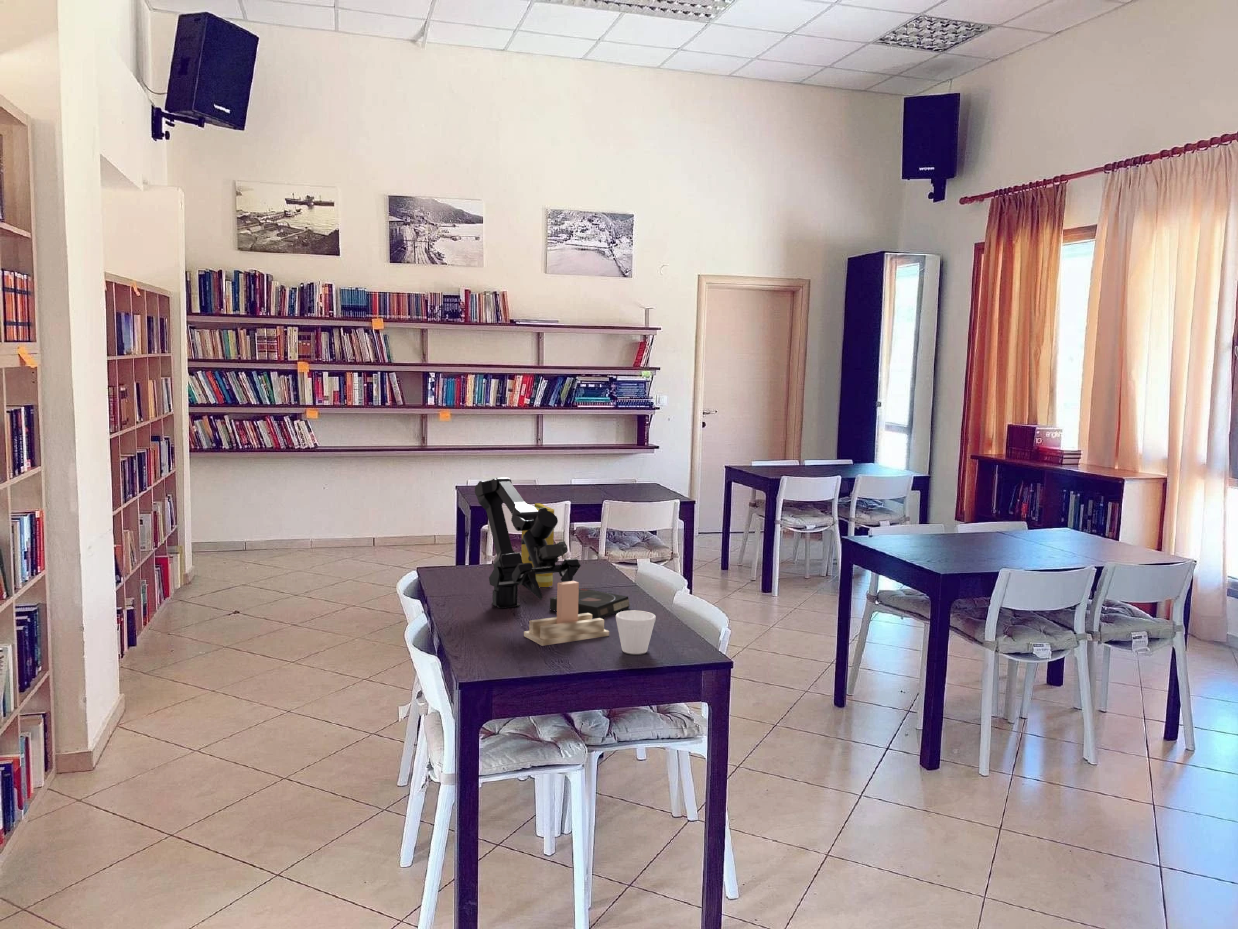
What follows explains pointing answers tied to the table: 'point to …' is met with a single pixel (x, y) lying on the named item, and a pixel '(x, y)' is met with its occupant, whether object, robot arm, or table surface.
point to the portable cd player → (597, 603)
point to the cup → (635, 630)
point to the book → (542, 579)
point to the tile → (567, 601)
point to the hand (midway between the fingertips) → (556, 596)
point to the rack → (565, 630)
